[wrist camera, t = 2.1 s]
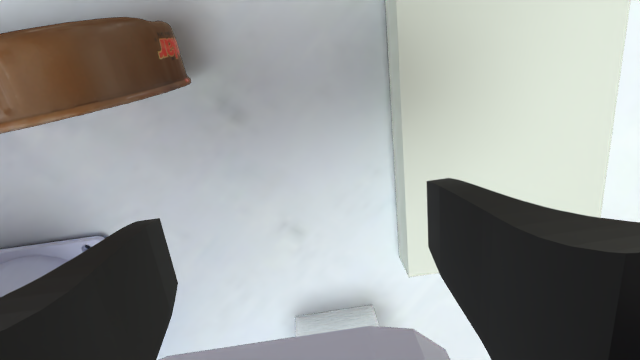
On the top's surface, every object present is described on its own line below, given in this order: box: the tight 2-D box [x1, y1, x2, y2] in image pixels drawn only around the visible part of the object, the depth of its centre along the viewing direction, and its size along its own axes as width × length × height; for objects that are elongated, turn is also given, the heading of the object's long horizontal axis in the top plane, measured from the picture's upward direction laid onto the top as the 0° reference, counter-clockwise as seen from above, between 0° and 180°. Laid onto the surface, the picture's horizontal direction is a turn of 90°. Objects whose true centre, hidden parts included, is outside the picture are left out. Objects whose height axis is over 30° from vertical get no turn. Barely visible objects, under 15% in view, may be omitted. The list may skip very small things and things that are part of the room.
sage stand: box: [385, 0, 631, 277], centre depth 21 cm, size 10×18×2 cm, turn 7°
